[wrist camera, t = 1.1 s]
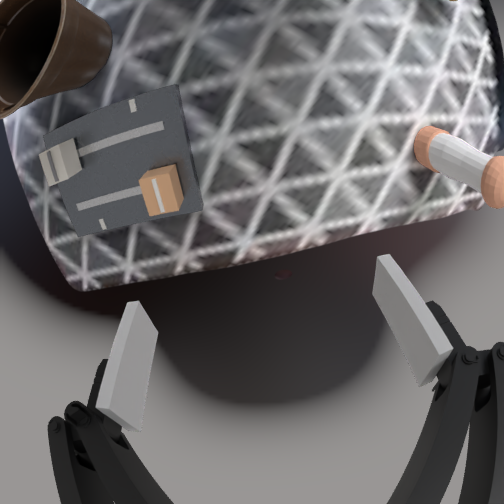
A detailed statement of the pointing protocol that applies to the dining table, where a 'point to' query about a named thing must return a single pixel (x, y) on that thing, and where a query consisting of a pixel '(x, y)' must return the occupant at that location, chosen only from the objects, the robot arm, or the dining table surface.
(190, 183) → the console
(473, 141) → the dining table surface
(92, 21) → the plant pot
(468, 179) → the pepper shaker
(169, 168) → the fader
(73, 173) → the fader
